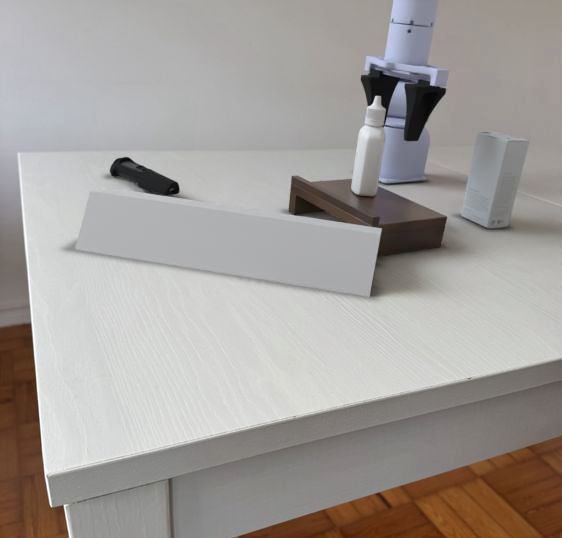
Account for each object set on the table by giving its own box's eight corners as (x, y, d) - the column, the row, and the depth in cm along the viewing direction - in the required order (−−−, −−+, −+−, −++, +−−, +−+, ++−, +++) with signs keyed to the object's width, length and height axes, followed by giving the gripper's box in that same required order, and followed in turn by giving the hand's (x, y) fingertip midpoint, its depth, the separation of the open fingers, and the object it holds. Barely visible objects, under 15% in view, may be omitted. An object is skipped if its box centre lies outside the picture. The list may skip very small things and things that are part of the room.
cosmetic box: (509, 227, 86) (534, 140, 79) (485, 229, 84) (509, 140, 78) (479, 213, 90) (501, 130, 84) (456, 215, 88) (477, 130, 82)
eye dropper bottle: (386, 190, 82) (402, 97, 76) (370, 199, 78) (386, 100, 72) (357, 184, 84) (370, 92, 78) (340, 192, 79) (353, 95, 73)
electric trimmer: (163, 205, 82) (162, 182, 80) (107, 175, 91) (106, 154, 89) (186, 201, 84) (186, 179, 82) (129, 173, 93) (129, 152, 92)
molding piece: (364, 324, 73) (378, 247, 74) (369, 298, 61) (385, 208, 63) (114, 281, 77) (132, 209, 78) (74, 250, 65) (97, 166, 67)
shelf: (356, 204, 89) (361, 170, 86) (440, 246, 76) (449, 208, 73) (288, 211, 83) (291, 175, 81) (366, 258, 70) (373, 217, 68)
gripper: (353, 18, 80) (340, 124, 87) (427, 27, 70) (405, 147, 77) (394, 22, 83) (377, 123, 90) (470, 31, 73) (445, 145, 80)
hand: (393, 134), depth 84 cm, fingers open, 7 cm apart
